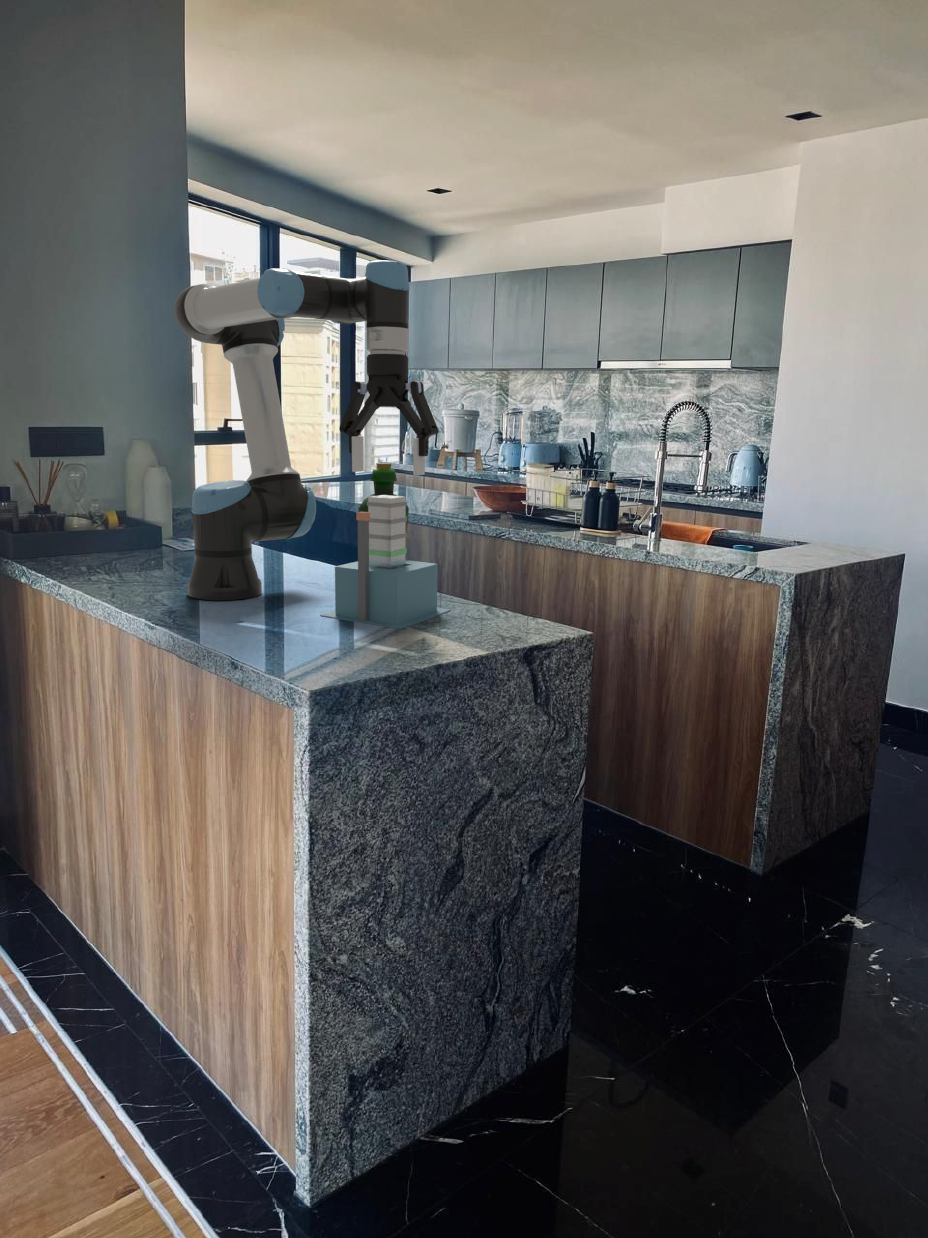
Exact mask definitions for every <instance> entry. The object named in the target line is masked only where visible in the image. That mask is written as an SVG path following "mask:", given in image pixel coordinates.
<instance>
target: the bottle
mask: <svg viewBox="0 0 928 1238" xmlns="http://www.w3.org/2000/svg"><path fill="white" fill-rule="evenodd" d="M375 465H376V468H374V469H372V472H371V476H370V477H371V478H370V482H373V491H374V493H373V494H370V495H369V496H367V497H366V498H364V499H363V501H362V502H361V504H360V506H359V507H358V512H368V506H367V502H368V497H371V496H379V495H391V496H399V495H398V494H396V493H394V488H395V482H397V481H398V480H397V479H398V478H397V474H396V469H392V463H391V462H376V464H375ZM409 511H410V507H409V506H408V505H407V506H406V518H407V521H406V525H405V533H407V534H408V526H409V525H408V524H409ZM407 543H408V536H407V537H405V548H407V546H408V545H407ZM406 557H407V554H405V560H407V558H406Z"/></svg>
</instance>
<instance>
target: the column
mask: <svg viewBox="0 0 928 1238" xmlns="http://www.w3.org/2000/svg"><path fill="white" fill-rule="evenodd" d="M367 497H368V496H367ZM406 499H407V496H401V495H398V496H391V495H379V496H371V497H368V502H367V506H368V512H370V520H369V567H374V568H382V569H390V570H393V569H397V568H401V567H405V554H406V555H407V553H408V552H407V551H408V548H407V547H406V548H405V537H407V538H408V532H407V533H405V525H406V521H407V518H406V506H408V501H406Z"/></svg>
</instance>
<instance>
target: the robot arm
mask: <svg viewBox="0 0 928 1238" xmlns="http://www.w3.org/2000/svg"><path fill="white" fill-rule="evenodd" d="M409 285H410V283H409V270H408V267H407V266H406V264H404V263H403V262H401V261H397V260H396V261H395V260H386V259H385V260H384V259H383V260H382V259H381V260H372V261H369V262H368V263H367V264H366V266H365V273H364V277H360V278H344V277H338V276H330V275H324V274H323V275H322V274H315V273H309V272H303V271H296V270H292V269H289V268H269V269H266V270H265V271H264V272H263V274H262V275H260V277H259V278H258V277H257V278H252V279H247V280H243V281H239V282H233V283H228V284H223V285H222V284H221V285H218V286H216V285H211V284H209V283H208V284H207V283H201V284H200V283H199V284H195V285H191V286H188V287H186V288H184V289H183V290H181V291H180V292H179V294H178V295H177V296H176V300H175V302H174V307H173V308H174V309H173V310H174V311H173V312H174V317H175V321H176V323H177V325H178V326H179V328H180V329H181V330H182V332H183V333H184V334H186V335H187V336H188V337H190V338H191V339H193V340H195V341H198V342H200V343H205V344H212V345H220V346H221V347H222V352H223V357H224V359H226V360H227V361H228V362H230V363H231V364H232V369H233V373H234V379H235V386H236V392H237V397H238V402H239V407H240V413H241V420H242V425H243V431H244V437H245V441H246V448H247V452H248V459H249V464H250V470H251V472H250V475H249V477H248V478H247V479H246V480H239V479H237V480H234V479H233V480H224V481H215V482H209V483H205V484H202V485H200V486H198V487H196V488H195V489H194V491H193V493H192V494H191V495H192V501H191V509H190V510H191V513H192V526H193V528H192V529H193V545H194V547H193V548H194V561H193V565H192V569H191V574H190V579H189V580H188V583H187V595H188V597H189V598H193V599H197V600H203V601H204V600H205V601H236V600H242V599H243V600H244V599H250V598H253V597H254V598H255V597H257V596H260V595H261V594H262V593H263V592H262V591H263V588H262V581H261V579H260V578H259V575H258V572H257V568H256V564H255V562H254V559H253V550H252V549H253V548H252V547H253V545H252V543H254V542H255V543H256V542H263V541H273V540H274V541H275V540H289V539H292V538H299V537H303V536H304V535H306V534H307V533H308V532H309V531H310V530H311V528H312V526H313V523H314V522H315V520H316V514H317V502H316V501H317V500H316V496H315V493H314V491H313V490H312V489H311V487H310V486H309V485H307V484H305V483H302V480H301V475H300V473H299V472H298V471H297V470H295V469H294V468H293V467H292V464H291V458H290V451H289V446H288V445H289V444H288V441H287V435H286V429H285V424H284V419H283V412H282V406H281V401H280V395H279V389H278V384H277V383H278V382H277V378H276V373H275V366H274V361H273V360H274V358H275V356H277V354H278V353H279V349H278V347H279V346H281V344H282V342H283V340H284V337H285V334H284V331H285V330H286V326H285V325H286V323H285V319H291V318H306V319H315V320H325V321H330V322H332V323H334V324H340V325H343V324H344V325H353V324H355V323H362V322H366V324H365V326H366V327H365V328H366V350H367V351H368V352H369V354H367V356H366V375H367V377H368V380H367V382H365V381H359V380H357V381H354V382H353V383H352V392H351V397H350V399H349V401H348V404H347V406H346V410H345V412H344V414H343V417H342V420H341V423H340V424H339V431H340V432H341V433H344V434H345V435H347V436H348V451H349V454H351V471H352V473H358V472H359V473H360V472H364V471H365V469H364V467H365V466H364V465H365V464H364V463H365V461H364V459H365V455H364V454H365V453H364V451H365V450H364V449H365V445H364V442H365V441H364V437H365V436H362V431H363V430H364V429H365V428H366V425H368V423H369V421H370V420H371V418H372V417H373V416H374V414H375V412H376V411H377V410H379V408H380V407H381V408H383V407H384V408H387V407H389V408H396V409H397V410H399V411H400V413H401V414H402V416H403V417H404V419H405V420H406V421H407V423H408V425H409V426H410V427H411V429H412V431H413V432H414V433H415V435H416V436H415V438H413V440H412V441H413V444H412V445H413V446H412V447H413V451H412V453H413V457H412V459H413V461H412V464H413V472H412V475H413V476H422V475H425V474H426V470H425V469H426V462H425V461H426V457H428V456H429V443H430V442H429V439H430V437H433V436H436V435H438V434H439V432H440V431H439V428H438V426H437V422H436V420H435V418H434V415H433V413H432V410H431V407H430V405H429V403H428V401H427V398H426V396H425V393H424V392H425V391H424V383H423V381H417V380H412V381H410V382H408V376H409V357H408V355H406V353H408V352H409V348H410V347H409V346H410V345H409V339H410V338H409V309H410V308H409V301H410V300H409V298H410V297H409V295H410V294H409V291H410V286H409ZM367 393H368V395H369V396H368V397H367V399H366V400H365V398H366V394H367ZM408 393H409V394H410V396H411V398H412V401H413V403H414V406H415V409H416V411H417V412H416V411H415V409H414V408H413V407H412V403H411V401H410V399H408V397H407V394H408ZM364 400H365V402H364ZM363 403H364V406H362V405H363ZM417 413H418V414H417Z"/></svg>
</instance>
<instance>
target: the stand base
mask: <svg viewBox="0 0 928 1238" xmlns="http://www.w3.org/2000/svg"><path fill="white" fill-rule="evenodd" d="M355 514H356V518H355V519H356V521H357V561H354V562H349V563H344V564H340V565H336V566H334V594H335V595H334V597H335V598H334V601H335V603H334V604H335V608H334V610H333V611H329V612H326V613H324V614H320V617H324V618H331V619H337V620H341V621H346V622H347V621H349V622H352V623H353V622H355V623H361V624H367V625H373V626H379V627H385V628H391V629H398V630H402V629H404V628H407V627H410V626H412V625H415V624H416V625H417V624H418V623H421V622H423V621H426V620H429V619H432V618H436V617H437V616H440V615H443V614H445V613H448V612H451V611H452V610H451V609H449V608H441V607H438V572H439V571H438V568H439V567H438V563H434V562H425V561H416V560H407V559H406V560H405V567H401V568H397V569H393V570H390V569H382V568H374V567H369V520H370V512H359V511H356V512H355Z"/></svg>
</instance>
